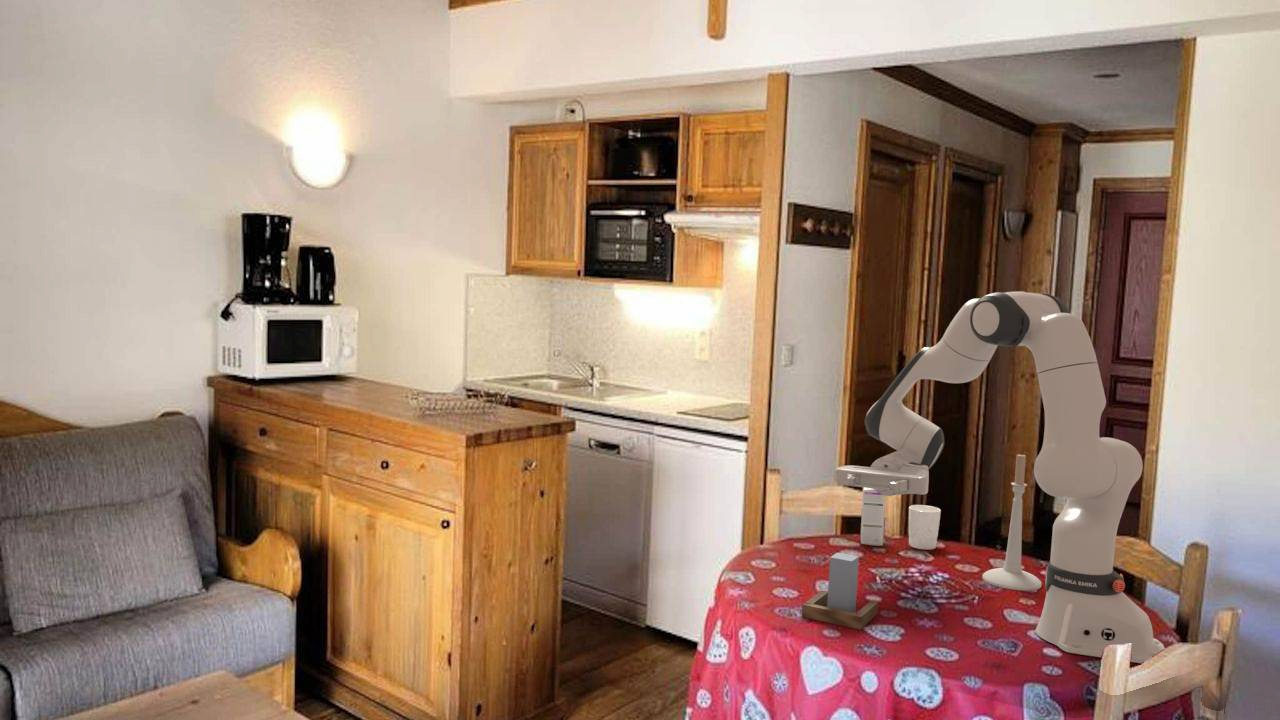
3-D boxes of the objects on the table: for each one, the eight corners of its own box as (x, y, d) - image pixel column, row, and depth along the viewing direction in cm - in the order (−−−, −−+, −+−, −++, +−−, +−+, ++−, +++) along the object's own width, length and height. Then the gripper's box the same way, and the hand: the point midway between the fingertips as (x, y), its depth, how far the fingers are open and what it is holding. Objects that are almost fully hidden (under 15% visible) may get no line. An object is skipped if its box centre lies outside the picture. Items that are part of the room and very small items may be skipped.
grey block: (855, 614, 199) (858, 556, 198) (848, 620, 195) (851, 561, 194) (833, 609, 201) (837, 552, 200) (826, 615, 198) (830, 557, 197)
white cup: (900, 545, 255) (903, 507, 254) (917, 540, 260) (919, 503, 259) (927, 552, 249) (930, 513, 248) (944, 547, 254) (946, 509, 254)
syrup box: (883, 546, 253) (886, 490, 252) (859, 544, 254) (863, 488, 253) (882, 540, 258) (885, 486, 257) (859, 538, 260) (862, 484, 258)
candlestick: (980, 570, 234) (989, 446, 232) (1038, 577, 231) (1047, 451, 229) (984, 586, 222) (993, 455, 220) (1044, 593, 219) (1055, 460, 216)
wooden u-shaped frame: (877, 613, 200) (878, 601, 200) (860, 629, 190) (861, 617, 190) (821, 601, 206) (821, 590, 206) (802, 616, 196) (802, 604, 196)
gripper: (845, 457, 227) (825, 464, 215) (935, 466, 216) (919, 474, 204) (844, 484, 227) (824, 493, 215) (934, 494, 217) (918, 505, 205)
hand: (871, 484), depth 210 cm, fingers open, 8 cm apart
